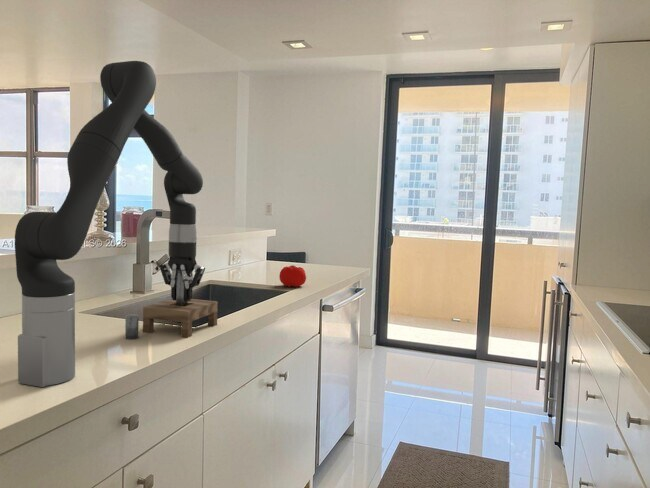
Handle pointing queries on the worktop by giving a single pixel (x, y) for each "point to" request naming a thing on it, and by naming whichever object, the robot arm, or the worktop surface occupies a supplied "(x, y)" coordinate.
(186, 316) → the wooden square-hole block
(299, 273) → the tomato
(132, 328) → the short pin
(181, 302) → the long pin
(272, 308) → the worktop surface
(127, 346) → the worktop surface
